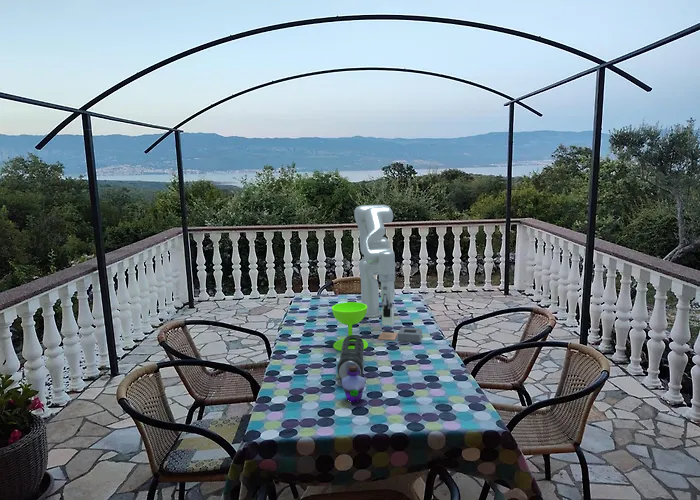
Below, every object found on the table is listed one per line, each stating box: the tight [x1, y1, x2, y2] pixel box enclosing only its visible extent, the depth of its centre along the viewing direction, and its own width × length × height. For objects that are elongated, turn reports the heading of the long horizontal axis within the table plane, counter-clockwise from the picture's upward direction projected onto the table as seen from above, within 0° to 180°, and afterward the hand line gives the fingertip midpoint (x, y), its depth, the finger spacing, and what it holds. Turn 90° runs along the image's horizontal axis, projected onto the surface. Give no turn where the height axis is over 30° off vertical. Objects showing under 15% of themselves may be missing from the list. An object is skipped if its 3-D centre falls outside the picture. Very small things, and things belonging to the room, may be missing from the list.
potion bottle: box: [341, 365, 366, 402], centre depth 163 cm, size 9×9×12 cm
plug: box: [381, 304, 395, 326], centre depth 223 cm, size 5×4×9 cm
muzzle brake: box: [336, 334, 365, 380], centre depth 187 cm, size 10×28×10 cm, turn 177°
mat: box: [377, 331, 398, 342], centre depth 225 cm, size 8×9×1 cm
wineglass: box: [331, 301, 369, 352], centre depth 214 cm, size 16×16×18 cm
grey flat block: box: [397, 327, 423, 343], centre depth 221 cm, size 10×9×4 cm
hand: (387, 315), depth 223 cm, fingers closed on plug, 3 cm apart
